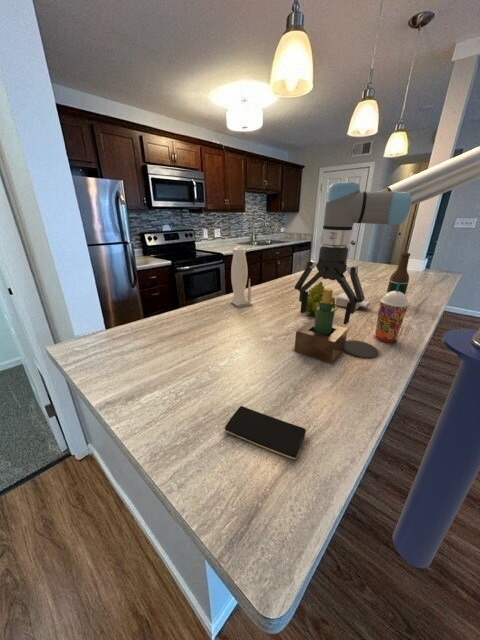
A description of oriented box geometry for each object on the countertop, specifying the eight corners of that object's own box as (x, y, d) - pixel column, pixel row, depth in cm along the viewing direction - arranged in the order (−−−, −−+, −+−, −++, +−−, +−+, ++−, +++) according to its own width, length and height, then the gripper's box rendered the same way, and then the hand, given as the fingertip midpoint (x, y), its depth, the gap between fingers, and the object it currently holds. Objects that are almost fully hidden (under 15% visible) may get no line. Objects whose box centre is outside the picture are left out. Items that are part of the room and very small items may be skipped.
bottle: (330, 348, 85) (340, 289, 77) (324, 355, 81) (334, 293, 73) (315, 343, 88) (322, 286, 80) (308, 349, 84) (315, 289, 76)
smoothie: (367, 337, 93) (379, 282, 85) (379, 331, 97) (392, 278, 90) (391, 346, 87) (406, 288, 79) (403, 339, 91) (418, 283, 83)
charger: (368, 313, 114) (335, 305, 123) (375, 308, 120) (343, 301, 130) (370, 303, 112) (336, 296, 121) (377, 298, 118) (344, 291, 128)
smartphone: (239, 404, 58) (307, 428, 52) (239, 408, 59) (306, 433, 52) (223, 427, 52) (296, 457, 46) (223, 431, 52) (296, 462, 46)
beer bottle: (406, 305, 125) (420, 254, 115) (392, 306, 123) (405, 254, 114) (394, 300, 132) (406, 251, 122) (380, 301, 130) (392, 251, 121)
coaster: (381, 348, 85) (381, 347, 85) (372, 362, 77) (373, 361, 77) (347, 338, 92) (347, 337, 92) (336, 350, 84) (336, 349, 84)
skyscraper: (236, 308, 119) (236, 244, 108) (227, 303, 125) (227, 242, 114) (251, 305, 123) (253, 243, 112) (242, 300, 129) (243, 241, 118)
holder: (344, 347, 85) (348, 328, 83) (331, 363, 77) (334, 342, 74) (309, 337, 92) (312, 319, 89) (294, 350, 83) (296, 330, 81)
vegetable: (317, 295, 124) (327, 274, 112) (335, 321, 116) (348, 301, 104) (290, 304, 121) (297, 282, 108) (306, 331, 113) (316, 311, 101)
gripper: (287, 242, 76) (281, 311, 84) (381, 252, 62) (363, 332, 70) (299, 240, 82) (292, 305, 90) (387, 249, 68) (370, 324, 76)
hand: (323, 317), depth 80 cm, fingers open, 13 cm apart
